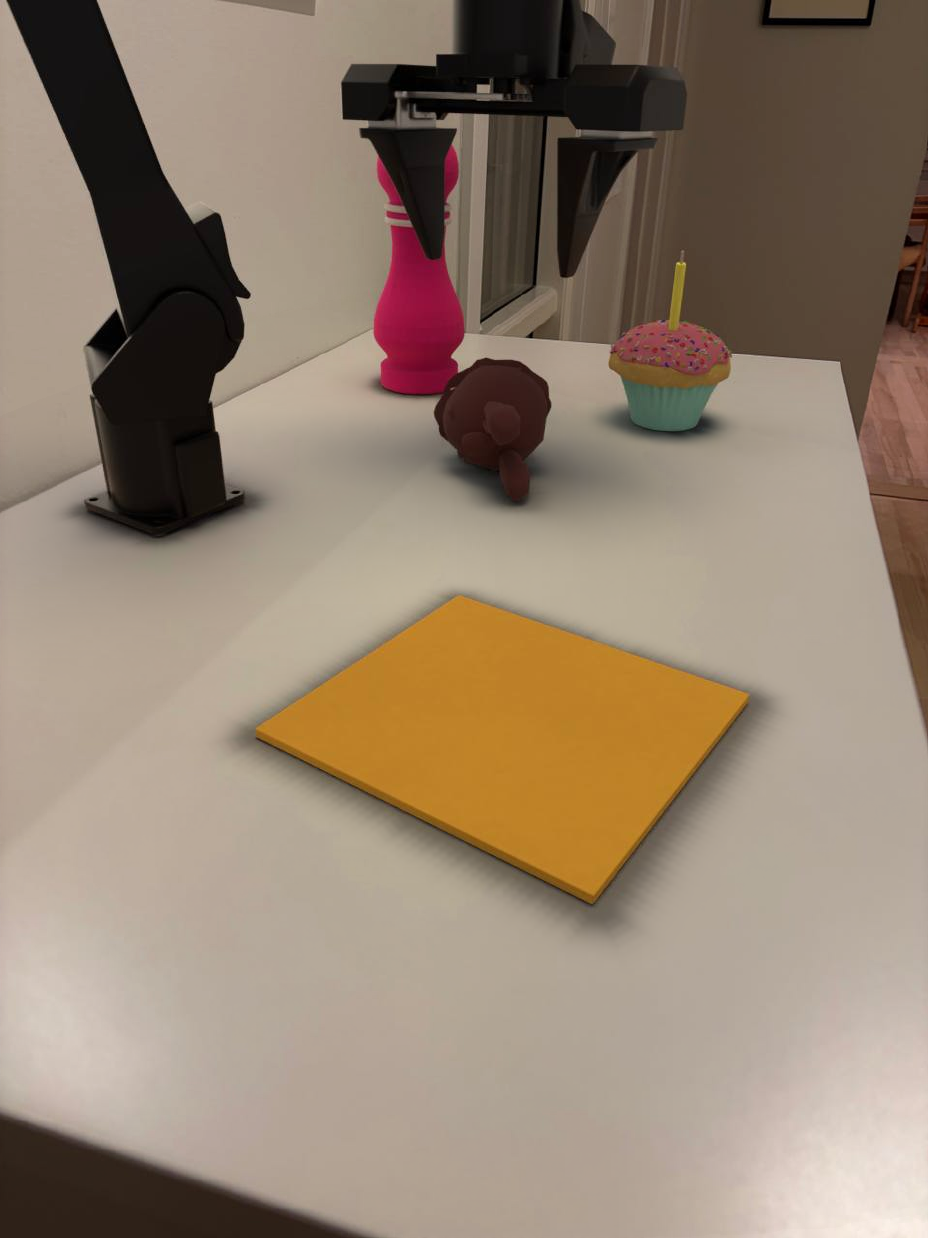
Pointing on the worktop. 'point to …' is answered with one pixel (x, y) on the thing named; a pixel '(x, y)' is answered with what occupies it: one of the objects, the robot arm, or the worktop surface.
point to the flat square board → (514, 738)
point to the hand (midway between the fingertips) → (497, 267)
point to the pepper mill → (417, 303)
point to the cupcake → (670, 367)
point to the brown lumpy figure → (496, 418)
